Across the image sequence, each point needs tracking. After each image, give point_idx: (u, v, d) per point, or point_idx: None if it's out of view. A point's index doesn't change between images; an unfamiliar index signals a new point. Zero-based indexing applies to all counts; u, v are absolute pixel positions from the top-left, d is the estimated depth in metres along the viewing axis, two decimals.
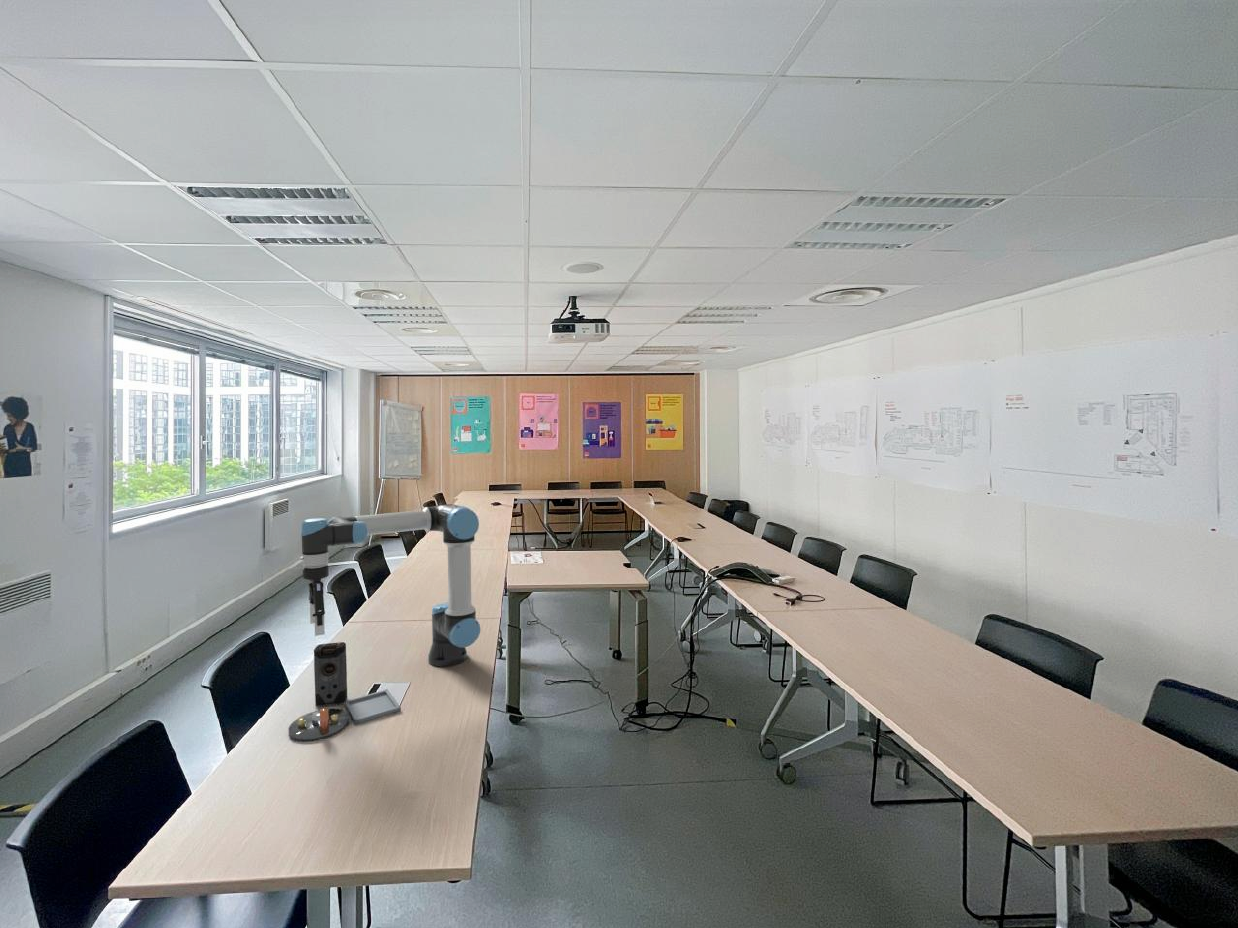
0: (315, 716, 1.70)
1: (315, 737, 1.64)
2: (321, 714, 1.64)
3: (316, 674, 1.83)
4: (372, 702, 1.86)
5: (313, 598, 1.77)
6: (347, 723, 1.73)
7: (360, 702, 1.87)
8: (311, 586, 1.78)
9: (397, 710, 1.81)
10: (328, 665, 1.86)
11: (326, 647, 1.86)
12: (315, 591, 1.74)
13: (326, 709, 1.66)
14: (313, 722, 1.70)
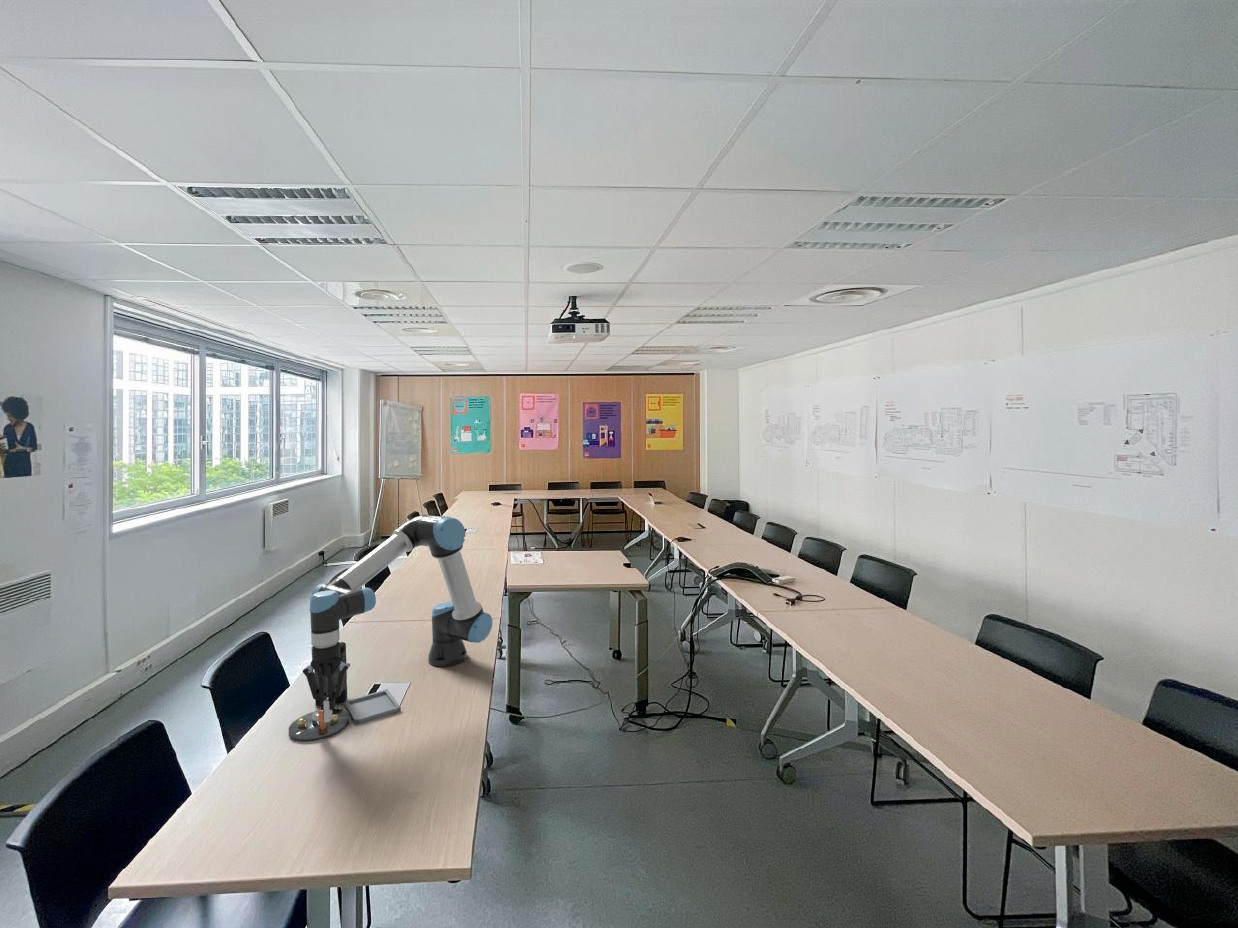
0: (315, 716, 1.70)
1: (315, 737, 1.64)
2: (319, 714, 1.64)
3: (316, 674, 1.83)
4: (372, 702, 1.86)
5: (325, 676, 1.65)
6: (347, 723, 1.73)
7: (360, 702, 1.87)
8: None
9: (397, 710, 1.81)
10: None
11: None
12: None
13: None
14: (313, 722, 1.70)
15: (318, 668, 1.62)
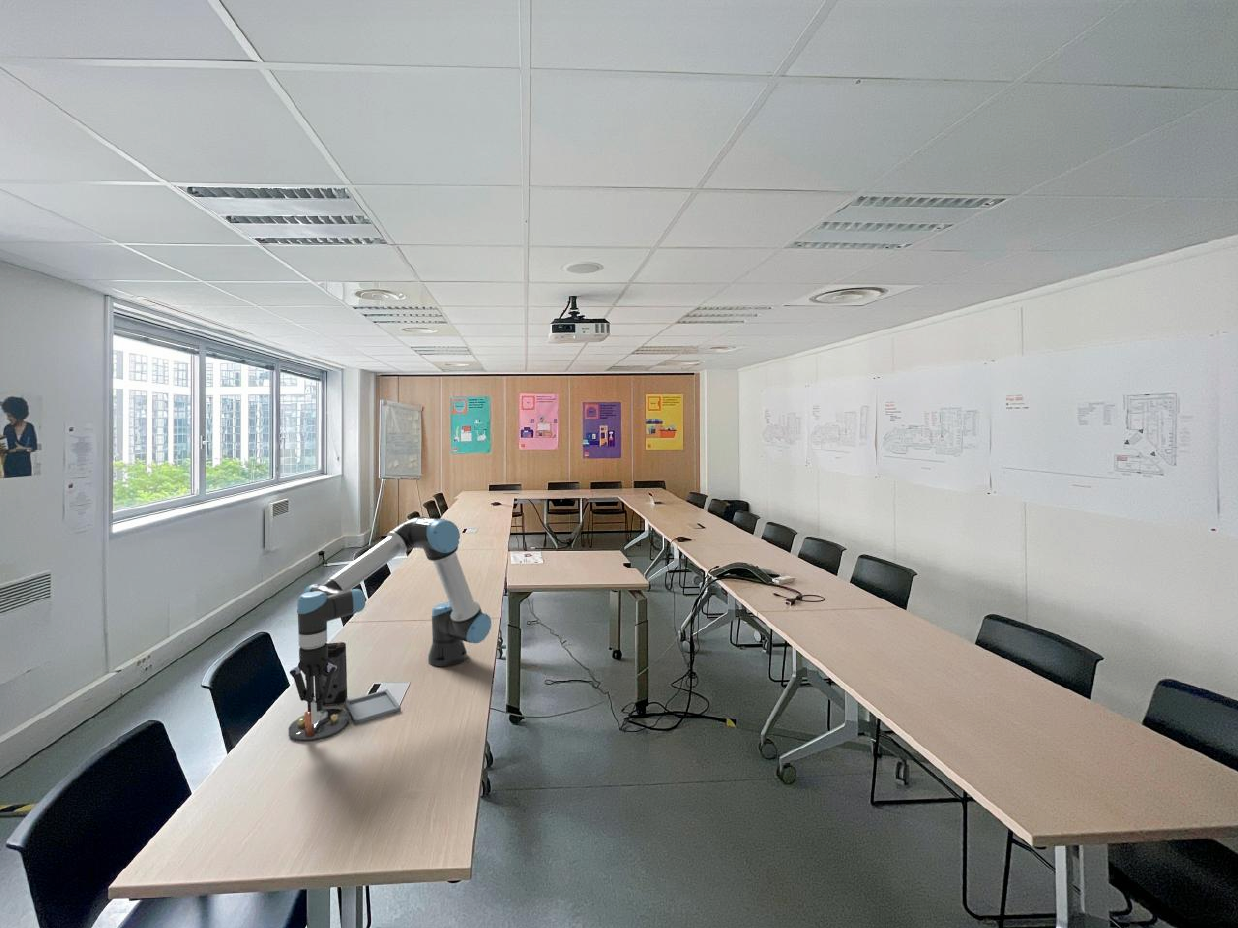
0: None
1: (315, 737, 1.64)
2: (305, 716, 1.63)
3: None
4: (372, 702, 1.86)
5: (313, 677, 1.64)
6: (347, 723, 1.73)
7: (360, 702, 1.87)
8: None
9: (397, 710, 1.81)
10: None
11: None
12: None
13: (310, 712, 1.64)
14: None
15: (305, 669, 1.61)
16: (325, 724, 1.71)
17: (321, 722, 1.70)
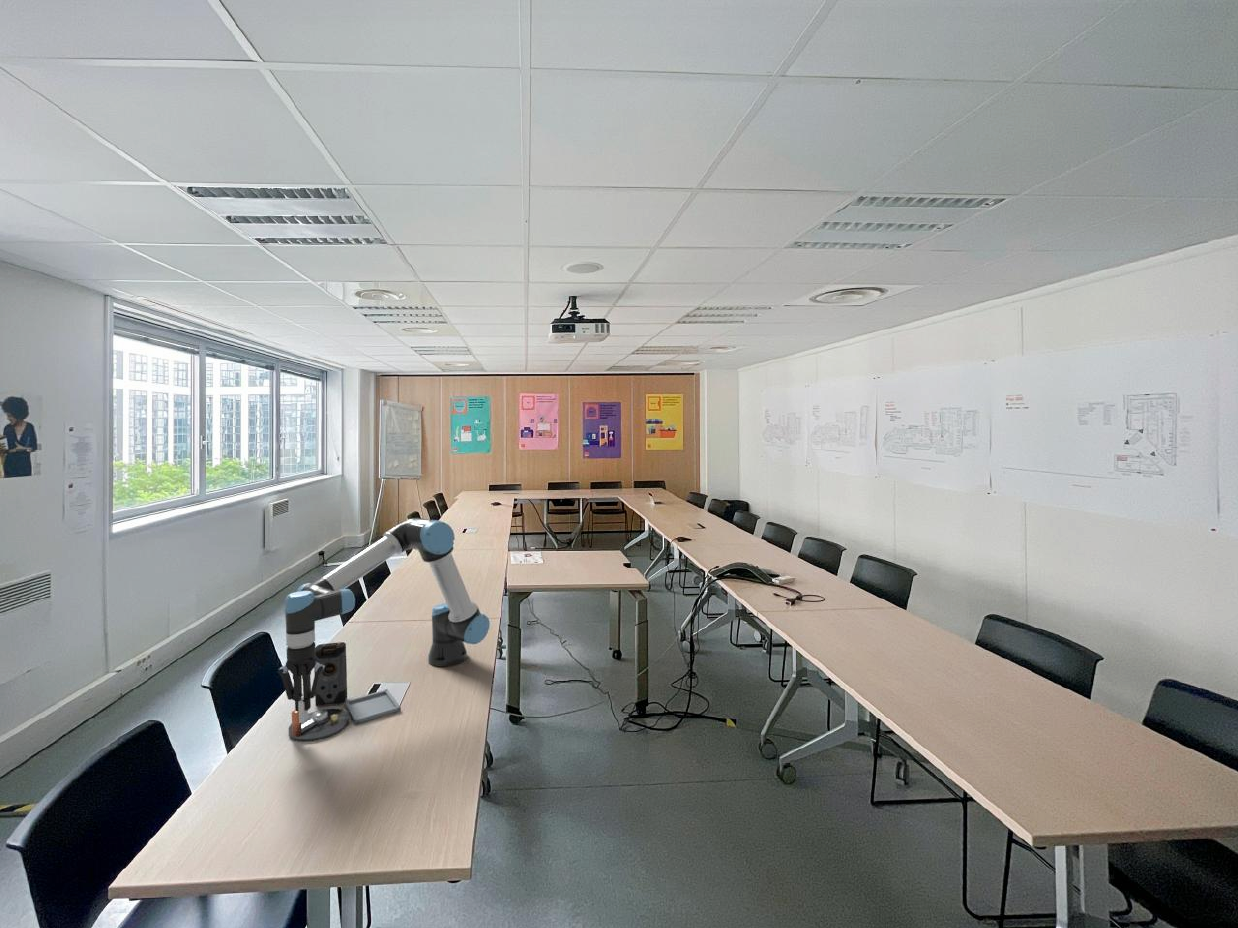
0: (313, 714, 1.71)
1: (315, 737, 1.64)
2: None
3: None
4: (372, 702, 1.86)
5: (300, 677, 1.65)
6: (347, 723, 1.73)
7: (360, 702, 1.87)
8: None
9: (397, 710, 1.81)
10: (328, 665, 1.86)
11: (326, 647, 1.86)
12: None
13: (297, 712, 1.64)
14: None
15: (293, 668, 1.62)
16: (325, 724, 1.71)
17: (317, 723, 1.70)
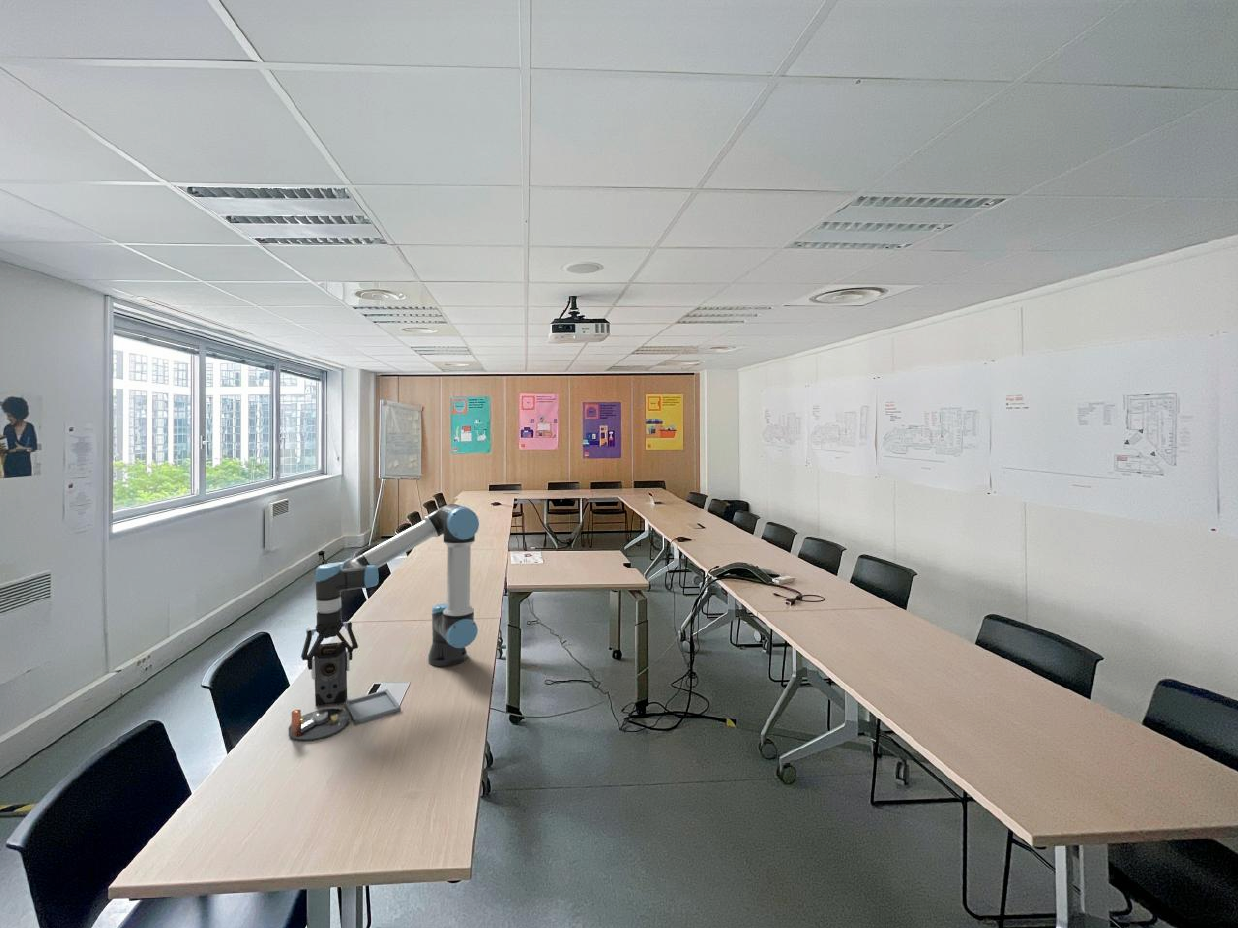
0: (313, 714, 1.71)
1: (315, 737, 1.64)
2: None
3: (316, 674, 1.83)
4: (372, 702, 1.86)
5: None
6: (347, 723, 1.73)
7: (360, 702, 1.87)
8: None
9: (397, 710, 1.81)
10: (328, 665, 1.86)
11: (326, 647, 1.86)
12: None
13: (297, 712, 1.64)
14: None
15: (325, 631, 1.84)
16: (325, 724, 1.71)
17: (317, 723, 1.70)
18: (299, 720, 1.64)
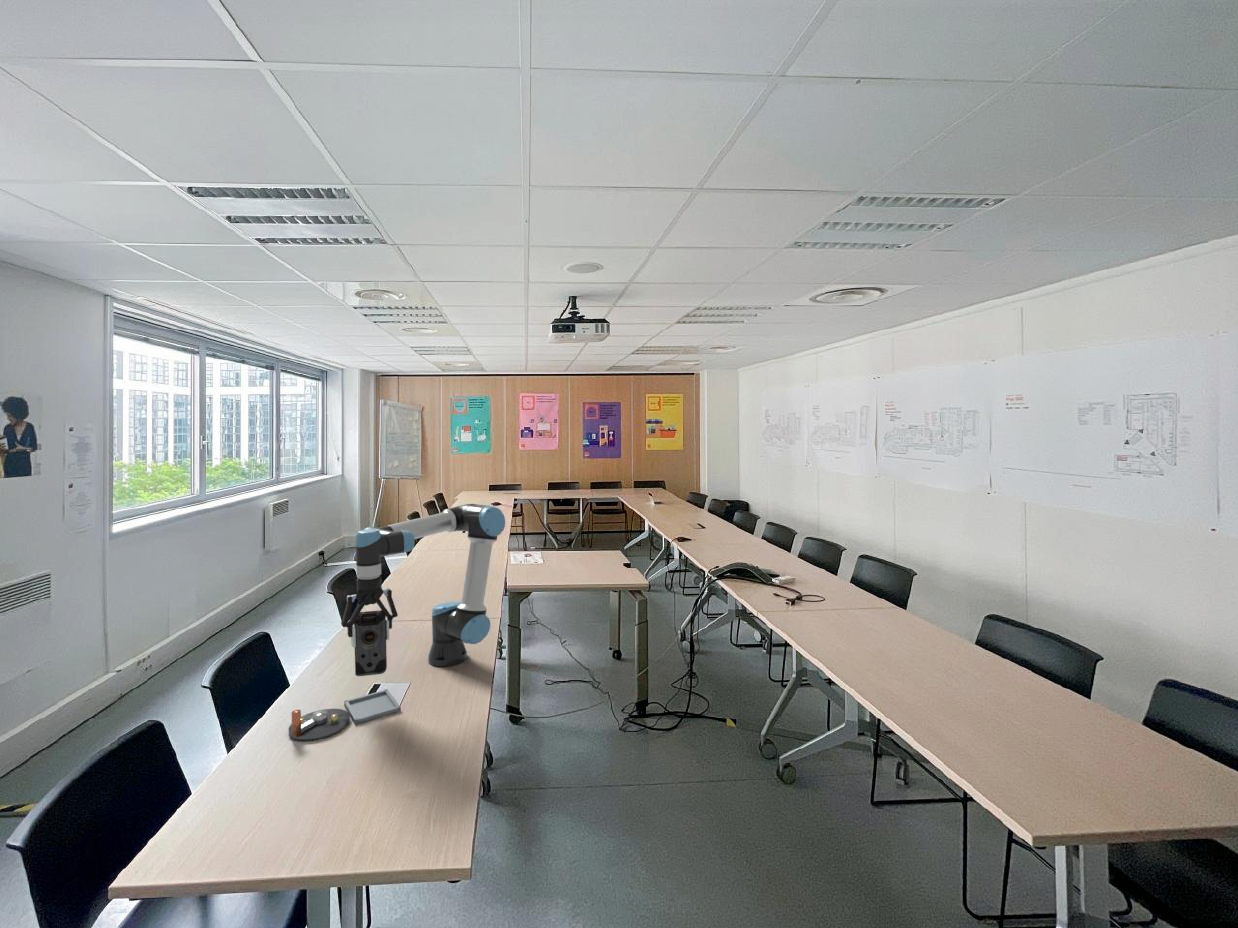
0: (313, 714, 1.71)
1: (315, 737, 1.64)
2: None
3: (356, 642, 1.78)
4: (372, 702, 1.86)
5: None
6: (347, 723, 1.73)
7: (360, 702, 1.87)
8: None
9: (397, 710, 1.81)
10: (368, 633, 1.81)
11: (366, 615, 1.81)
12: None
13: (297, 712, 1.64)
14: None
15: (365, 598, 1.79)
16: (325, 724, 1.71)
17: (317, 723, 1.70)
18: (299, 720, 1.64)
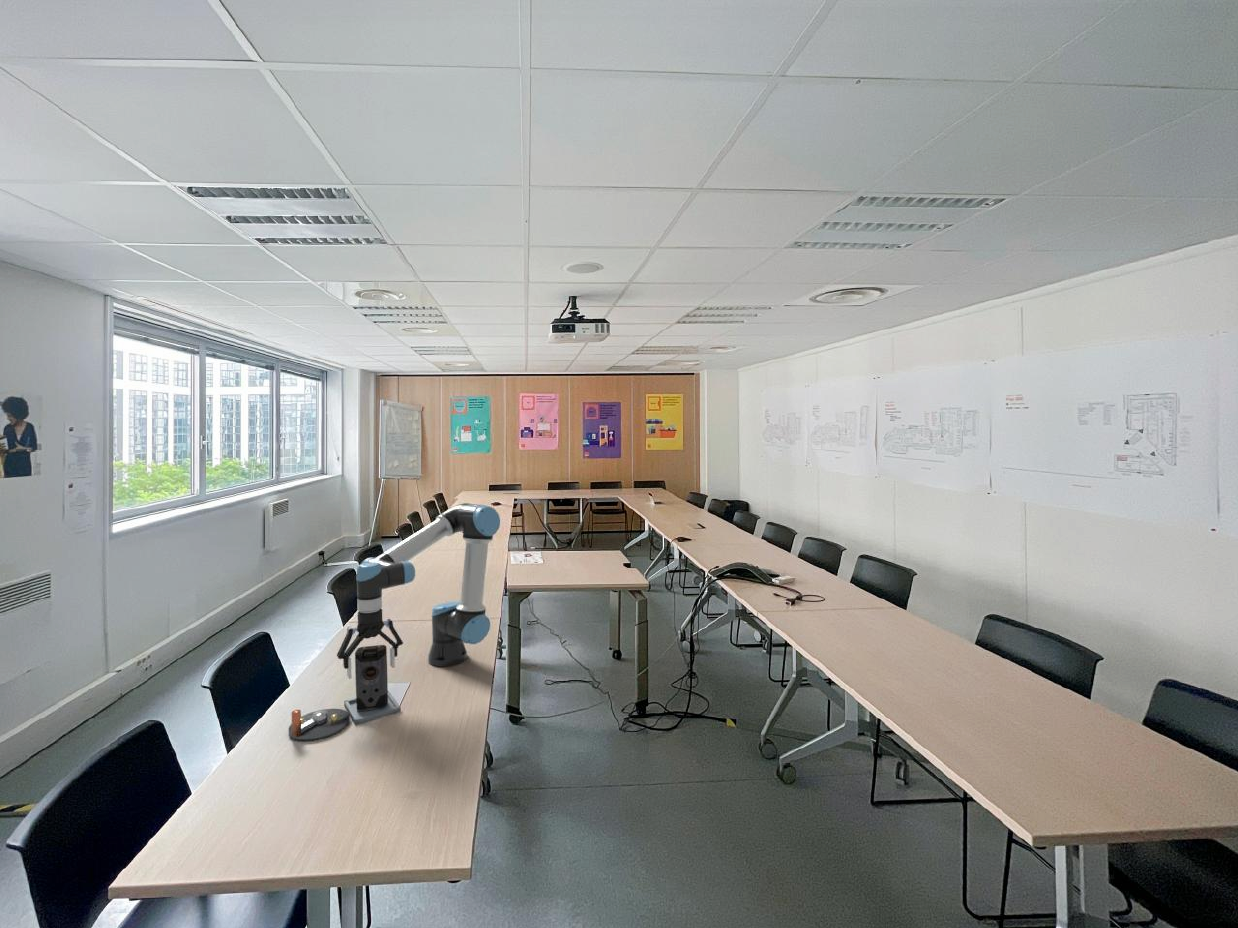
0: (313, 714, 1.71)
1: (315, 737, 1.64)
2: None
3: (357, 678, 1.79)
4: None
5: None
6: (347, 723, 1.73)
7: None
8: None
9: (397, 710, 1.81)
10: (369, 669, 1.82)
11: (367, 650, 1.82)
12: None
13: (297, 712, 1.64)
14: None
15: (366, 631, 1.79)
16: (325, 724, 1.71)
17: (317, 723, 1.70)
18: (299, 720, 1.64)
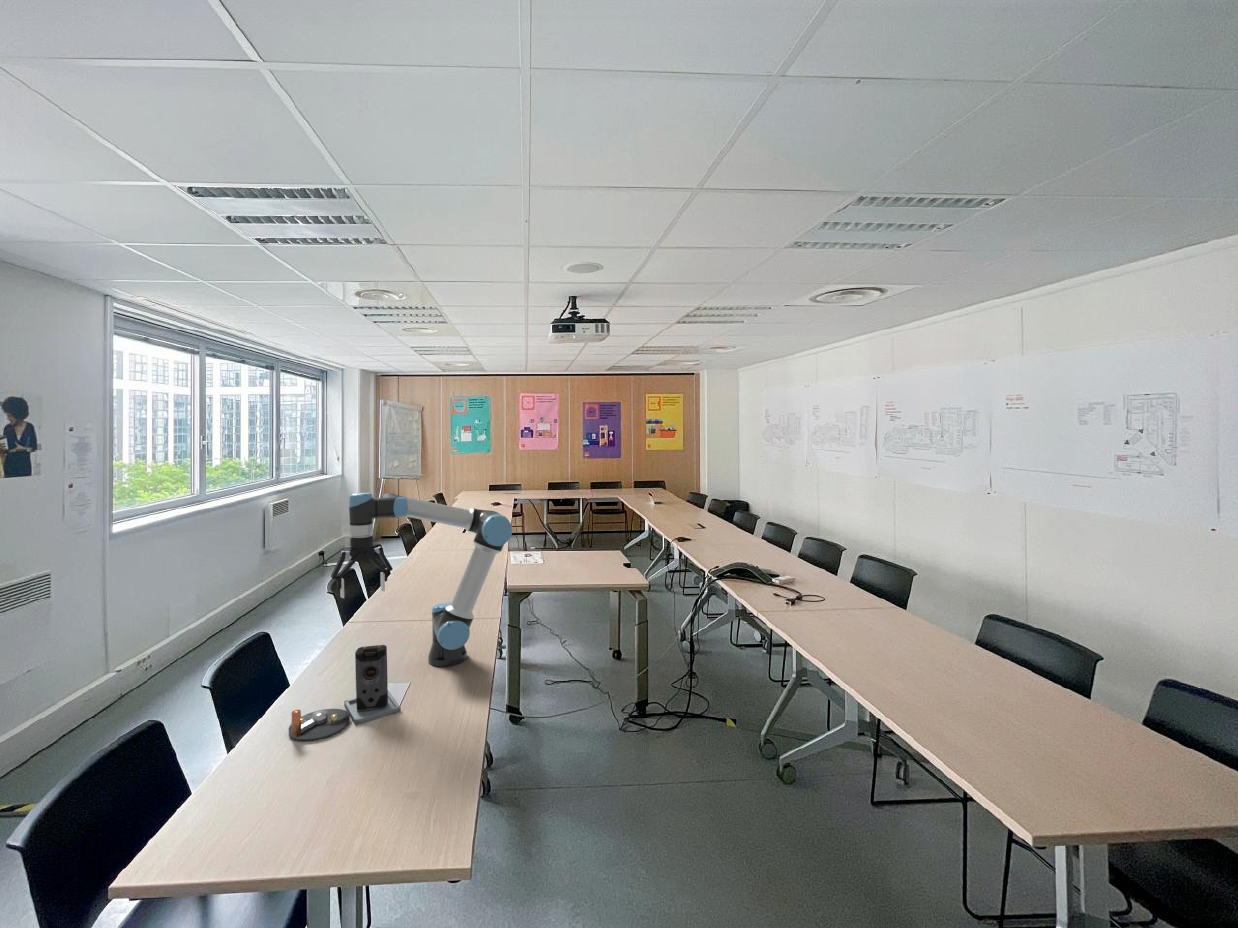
0: (313, 714, 1.71)
1: (315, 737, 1.64)
2: None
3: (358, 677, 1.79)
4: None
5: None
6: (347, 723, 1.73)
7: None
8: None
9: (397, 710, 1.81)
10: (369, 669, 1.82)
11: (367, 650, 1.82)
12: (340, 556, 1.93)
13: (297, 712, 1.64)
14: None
15: (358, 555, 1.94)
16: (325, 724, 1.71)
17: (317, 723, 1.70)
18: (299, 720, 1.64)
